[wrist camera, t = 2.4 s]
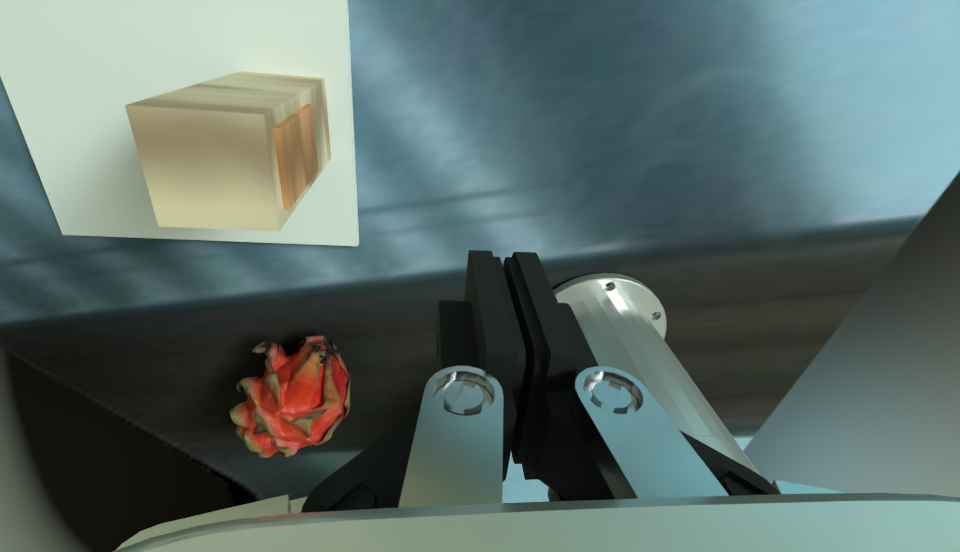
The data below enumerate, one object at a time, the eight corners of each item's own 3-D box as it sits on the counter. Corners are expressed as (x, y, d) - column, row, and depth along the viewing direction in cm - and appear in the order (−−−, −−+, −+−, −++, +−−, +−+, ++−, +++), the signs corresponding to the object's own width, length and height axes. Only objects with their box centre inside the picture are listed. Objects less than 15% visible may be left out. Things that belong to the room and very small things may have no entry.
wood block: (335, 158, 31) (286, 231, 20) (252, 153, 30) (158, 226, 20) (330, 78, 28) (271, 115, 18) (240, 71, 28) (124, 105, 17)
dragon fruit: (271, 398, 44) (332, 299, 41) (331, 461, 41) (400, 361, 39) (187, 429, 36) (256, 309, 33) (256, 510, 33) (337, 388, 31)
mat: (359, 242, 35) (358, 246, 34) (68, 231, 32) (62, 234, 32) (345, -46, 26) (344, -47, 25) (-55, -91, 23) (-66, -93, 23)
